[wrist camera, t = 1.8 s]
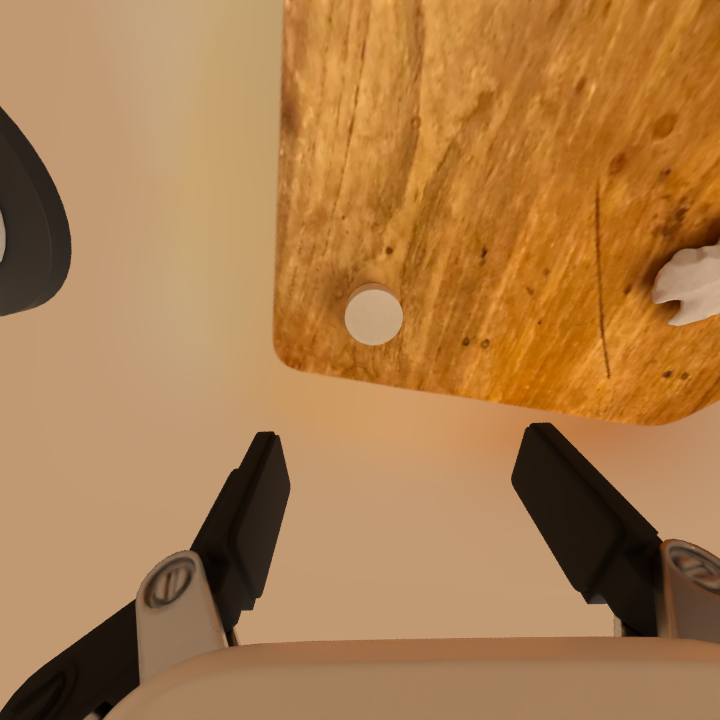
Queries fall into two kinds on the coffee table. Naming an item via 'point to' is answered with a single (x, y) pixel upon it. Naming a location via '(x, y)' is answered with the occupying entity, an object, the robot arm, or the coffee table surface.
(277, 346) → the coffee table surface
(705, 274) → the arrowhead
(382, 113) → the coffee table surface
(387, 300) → the cylinder
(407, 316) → the coffee table surface
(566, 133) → the coffee table surface
